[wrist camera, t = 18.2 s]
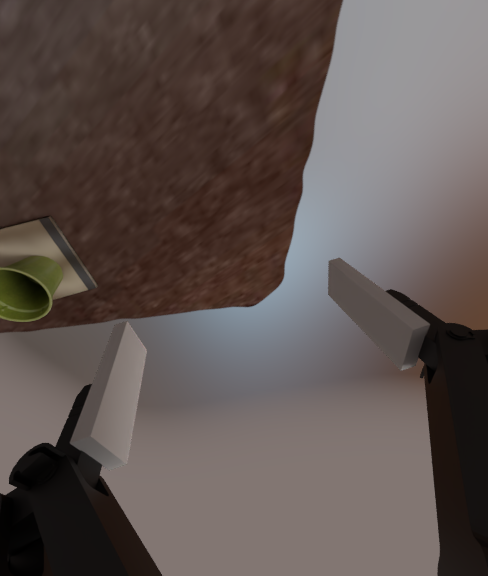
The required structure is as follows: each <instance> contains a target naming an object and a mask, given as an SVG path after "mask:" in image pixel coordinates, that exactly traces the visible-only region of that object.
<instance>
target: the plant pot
mask: <svg viewBox="0 0 488 576" xmlns="http://www.w3.org/2000/svg"><path fill="white" fill-rule="evenodd" d="M62 279H63V272H62V269H61V267H60V266H59V264H58V263H56V262H55V261H54V260H52V259H50V258H48V257H44V256H30V257H28V258H25V259H23V260H20V261H18V262H16V263H13V264H11V265H8V266H6V267H0V318H3V319H6V320H10V321H18V322H28V321H34V320H37V319H40V318H42V317H44V316H45V315H46V314H47V313H48V312H49V311H50V309H51V307H52V298H53V295H54V293H55V291H56V290H57V288H58V286H59V284H60V283H61V281H62Z"/></svg>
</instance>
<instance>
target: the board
mask: <svg viewBox="0 0 488 576" xmlns="http://www.w3.org/2000/svg"><path fill="white" fill-rule="evenodd" d="M30 256H44V257H48V258H50V259H52V260H54V261H55V262H56V263H58V264H59V266H60V267H61V269H62V272H63V279H62V281H61V283H60V284H59V286H58V288H57V290H56V291H55V293H54V295H53V298H52V300H54V299H58V298H61V297H65V296H68V295H72V294H75V293H79V292H82V291H86V290H90V289H94V288H96V287H97V286H98V285H97V284H96V282H95V281H94V279H93V278H92V276H91V275H90V273H89V272H88V270H87V269H86V267H85V266H84V264H83V263H82V261H81V260H80V258H79V257H78V255H77V254H76V252H75V251H74V249H73V248H72V246H71V245H70V244H69V242H68V241H67V239H66V238H65V236H64V235H63V233H62V232H61V230H60V229H59V227H58V226H57V224H56V223H55V221H54V220H53V218H52V217H51V216H49V217H45V218H41V219H37V220H33V221H30V222H26V223H22V224H18V225H14V226H10V227H6V228H2V229H0V267H6V266H8V265H11V264H13V263H16V262H18V261H20V260H23V259H25V258H28V257H30Z"/></svg>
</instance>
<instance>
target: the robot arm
mask: <svg viewBox="0 0 488 576" xmlns="http://www.w3.org/2000/svg"><path fill="white" fill-rule="evenodd" d="M328 285H329V286H328V295H329V296H330V297H331V298H332V299H333V300H334V301H335V302H336V303H337V304H338V305H339V306H340V307H341V308H342V309H343V311H344V312H345V313H346V314H347V315H348V316H349V317H350V318H351V319H352V320H353V321H354V322H355V323H356V324H357V325H358V326H359V327H360V328H361V329H362V330H363V331H364V332H365V333H366V335H368V337H369V338H370V339H371V340H372V341H373V342H374V343H375V344H376V345H377V346H378V347H379V348H380V349H381V350H382V351H383V352H384V353H385V354H386V356H387V357H388V358H389V359H390V360H391V361H392V362H393V363H394V364H395V365H396V366H397V367H398V368H399V369H400V370H401V371H402V370H404V369H407V368H410V367H413V366H415V365H416V363H417V360H418V357H419V358H420V359H421V360H422V361H423V362H424V363H425V364H424V366H423V369H422V372H421V374H420V378H423V376H424V379H425V390H426V400H427V411H428V421H429V433H430V443H431V455H432V465H433V476H434V487H435V498H436V509H437V520H438V530H439V542H440V557H439V563H438V576H488V330H472V329H470V328H468V327H466V326H464V325H460V324H455V323H445V322H443V321H442V320H440V319H439V318H437V317H436V316H434V315H433V314H432V313H430V312H429V311H427V310H426V309H424V308H423V307H421V306H420V305H418V304H417V303H416V302H414V301H412V300H411V299H410V298H408V297H407V296H405V295H404V294H402V293H400V292H397V291H395V290H387V291H384V290H383V289H381V288H380V287H378V286H377V285H376V284H375V283H373V282H372V281H370V280H369V279H368V278H366V277H365V276H364V275H362V274H361V273H360V272H358V271H357V270H355V269H354V268H353V267H351V266H350V265H349V264H347V263H346V262H345V261H343V260H342V259H341V258H337V259H334V260H330V261H329V281H328ZM146 353H147V350H146V348H145V347H144V345H143V344H142V342H141V341H140V340H139V338H138V336H137V335H136V333H135V332H134V330H133V329H132V327H131V326H130V324H129V323H128V321H126V322H122V323H119V324H116V325H114V328H113V331H112V333H111V336H110V338H109V341H108V344H107V347H106V349H105V352H104V354H103V357H102V359H101V362H100V365H99V367H98V370H97V372H96V375H95V378H94V380H93V383H92V384H90V385H86V386H84V388H83V389H82V390H81V392H80V393H79V394H78V396H77V397H76V399H75V402H74V404H73V407H72V410H71V411H70V414H69V416H68V417H69V418H68V419H67V421H66V423H65V425H64V428H63V430H62V432H61V435H60V437H59V439H58V442H57V445H56V447H54V446H53V445H51V444H49V443H42V444H39V445H37V446H35V447H33V448H32V449H30V450H29V451H28V452H26V454H24V455H23V456H22V457H21V458H20V459H19V461H18V462H17V464H16V465H15V466H14V468H13V470H12V472H11V474H10V477H9V484H11V485H13V486H15V487H17V488H16V489H14V490H13V491H11V492H10V493H8V494H7V495H3V494H1V493H0V576H162V574H161V572H160V571H159V570H158V568H157V566H156V564H155V563H154V561H153V559H152V558H151V556H150V554H149V553H148V551H147V549H146V548H145V546H144V545H143V543H142V541H141V540H140V538H139V536H138V535H137V533H136V531H135V530H134V528H133V527H132V525H131V523H130V522H129V520H128V519H127V517H126V515H125V514H124V512H123V510H122V509H121V507H120V505H119V504H118V502H117V500H116V499H115V497H114V495H113V494H112V492H111V490H110V489H109V487H108V485H107V484H106V482H105V481H104V479H103V478H102V477H101V476H100V471H101V467H102V466H103V467H105V468H107V469H108V470H112V469H115V468H118V467H121V466H124V465H127V460H128V455H129V449H130V444H131V438H132V433H133V427H134V421H135V416H136V410H137V404H138V399H139V392H140V387H141V382H142V376H143V370H144V365H145V359H146Z"/></svg>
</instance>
